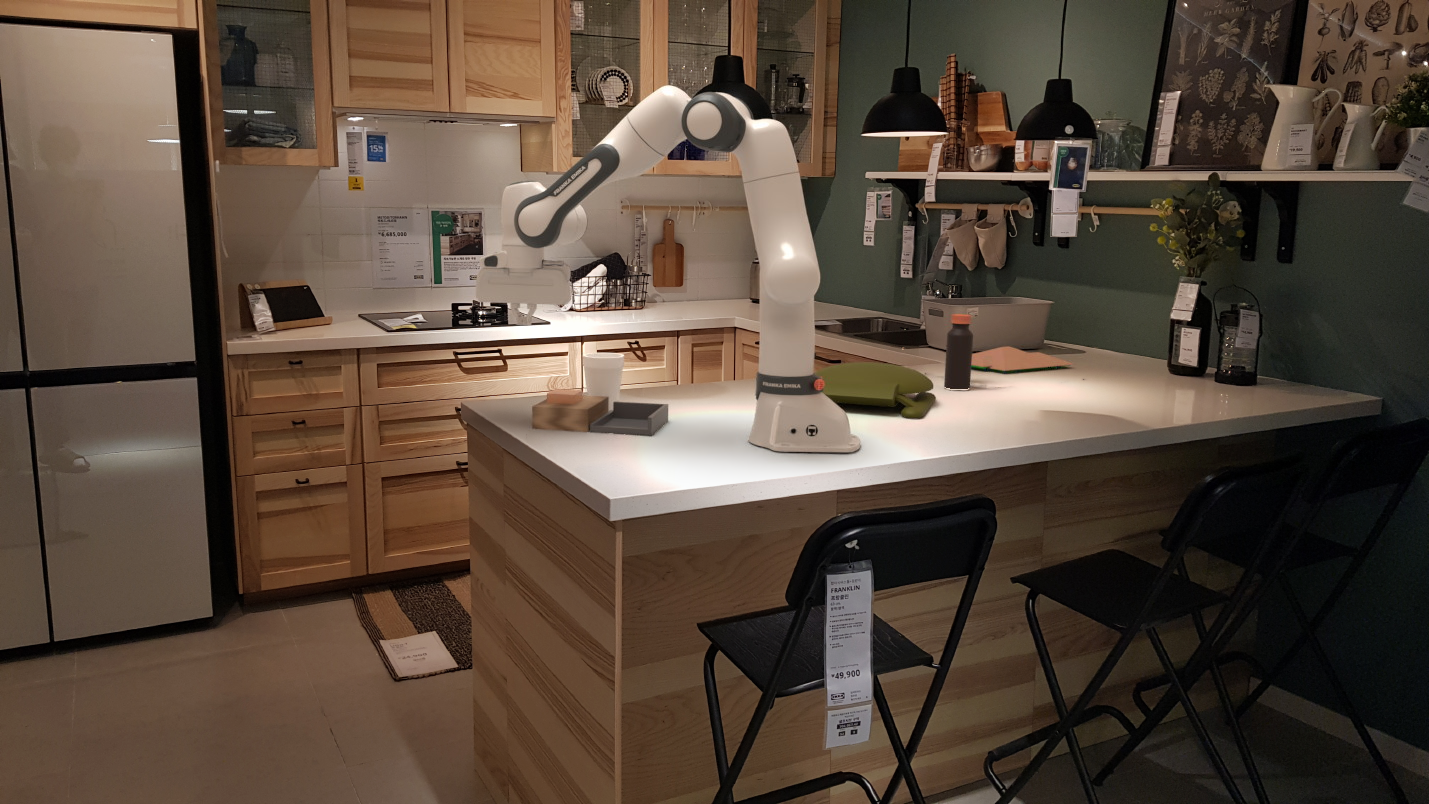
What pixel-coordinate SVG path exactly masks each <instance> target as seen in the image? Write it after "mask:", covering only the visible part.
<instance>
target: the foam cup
mask: <svg viewBox="0 0 1429 804" xmlns="http://www.w3.org/2000/svg"><path fill="white" fill-rule="evenodd" d="M582 366H583V370H584V378H585V386H586V393H587V394H586V396H605V397H609V411H610V410H613V402H614V401H616V402H620V401H619V400H620V391H621V386H622V385H621V383H622V378H623V377H622V376H623V372H624V371H623V369H624V367H625V354H623V353H616V352H590V353H588V352H587V353H584V354H582Z"/></svg>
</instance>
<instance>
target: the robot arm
mask: <svg viewBox="0 0 1429 804" xmlns="http://www.w3.org/2000/svg"><path fill="white" fill-rule="evenodd" d="M685 140H688V141H689V142H690V144H692V145H693V146H695V147H696V148H697V149H701V150H705V151H710V152H714V153H731V154H733V155H734V156H735V158H736V159H737V162H738V164H739V167H740V168H739V169H740V172H741V178H742V183H743V188H744V194H745V198H746V203H747V204H746V205H747V211H748V215H749V220H750V221H749V222H750V226H751V230H752V235H753V238H754V244H755V250H756V253H757V258H758V263H759V269H760V270H759V347H758V349H759V351H758V371H757V373H756V377H755V383H754V384H755V385H754V386H755V387H754V388H755V391H754V392H755V393H754V395H755V399H756V406H755V413H754V418H753V422H752V423H753V424H752V428H751V432H750V435H749V437H748V442H750V443H751V444H753V445H755V446H759V447H762V448H766V449H769V450H771V451H774V452H791V453H792V452H795V453H797V452H800V453H801V452H802V453H804V452H805V453H808V452H809V453H810V452H811V453H852V452H856V451H858V450H859V449H860V448H861V438H860V437H858V435H856V434H851V427H850V420H849V417H848V414H847V413H846V411H845V410H844V409H843V408H841V407H840V406H839V405H838V403H834V402H833V401H832V400H831V399H829V398H828V397H827V396H826V395H825V394H823V393H822V392H823V388H824V385H825V383H824V379H823V378H822V377H820V376H818V375H816V374H815V373H816V372H815V371H814V370H815V351H816V350H815V349H816V348H815V344H816V327H815V295H816V293H817V291H818V289H819V288H820V283H821V271H820V266H819V262H818V257H817V252H816V247H815V243H814V240H813V235H812V230H811V225H810V222H809V217H808V214H807V207H806V204H805V198H804V192H803V186H802V180H801V175H800V172H799V171H800V170H799V165H798V161H797V157H796V153H795V150H794V146H793V143H792V140H791V137H790V134H789V132H788V129H787V128H786V126H785V124H783V123H782V122H780V121H778V120H776V119H771V118H761V119H754V115H753V112H752V110H751V109H750V107H749V106H748V104H746V102H744V101H743V99H740V98H738V97H737V96H735V97H734V96H732V95H731V94H729V93H725V92H717V91H716V92H712V91H707V92H706V91H705V92H702V93H699V94H697V95H695V96H694V97H692V98H691V97H690V96H689V95H688V94H687V93H686V92H685V91H684V90H682V89H681V88H679V87H677V86H673V85H663V86H661V87H660V88H658V89H656V90H655V91H653V92H652V93H650V94H649V95H648V96H647V97H646V98H643V99H642V101H640V102H639V103H638V104H636V106H634V107H633V108H632V110H630V111H629V112H628V113H627V114H626V115H625V116H624V117H623V118H621V120H620V121H619V122H618V124H617V125H615V126H614V127H613V128H612V129H611V131H610V132H608V134H607V135H606V136H605V137H604V138H603V139H602V140H601V141H599V142H598V144H596V145H595V146H594V147H593V148H592V149H591V150H590V151H589V152H588V153H586V154H585V155H584V156H583V157H582V158H580V159H579V161H577V162H576V163H575V164H574V165H572V167H570V168H569V169H568V170H566V172H565V173H564V174H562V175H561V176H560V177H559V178H557V180H556V181H555V182H554V183H552V184H551V185H550V186H549V187H548V188H546V187H545V186H544V185H543V184H542V183H541V182H539V181H537V180H524V181H521V180H520V181H517V182H516V181H515V182H513V183H510V184H508V185H507V186H506V187H505V188H504V190H503V193H502V199H501V208H500V209H501V211H500V212H501V214H500V215H501V216H500V220H501V222H500V223H501V227H502V234H503V237H502V241H501V250H500V251H499V252H498V251H496V252H494V253H491V254H488V255H484V256H482V257H480V258H479V261H478V262H479V266H480V267H481V268H480V269H479V270H478V272H477V276H476V280H475V298H476V300H478V302H479V303H493V304H494V303H496V304H497V303H499V304H501V303H502V304H510V310H511V312H512V313H513V315H514V317H515V325H516V326H531V325H532V322H533V319H532V317H533V316H534V313H535V312H536V310H537V309H538V308H537V305H554V306H555V305H556V306H565V305H568V304H569V303H570V302H571V300H572V293H571V283H570V280H571V276H572V274H571V273H572V270H571V267H570V265H569V264H568V263H567V262H564V260H550V259H549V260H548V259H545V248H547V247H550V246H553V247H554V246H562V245H563V246H564V245H565V246H566V245H570V244H573V243H577V242H578V241H580V240H581V239H582V238H583V237H584V235H585V234H586V232H587V229H588V216H587V212H586V210H585V208H584V207H583V206H582V203H584V201H586V200H587V199H588V198H589V197H590V196H591V195H592V194H593V193H595V191H597V190H598V189H600V188H602V187H603V186H606V185H609V184H610V183H613V182H617V181H620V180H626V179H631V178H636V177H639V176H642V175H643V174H645V173H648V171H650V170H651V169H653V168H655V167H656V166H657V165H658V164H659V163H661V161H663V160H664V159H665V158H666V157H667V156H668V155H669V154H670V153H671V151H673V150H674V149H675V148H676V147H677V146H678V145H679V144H680V143H682V142H683V141H685ZM521 304H526V309H527V310H528V312H527V314H526V315H522V314H521V312H520V310H519V309H520V308H521Z"/></svg>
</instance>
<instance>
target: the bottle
mask: <svg viewBox="0 0 1429 804" xmlns="http://www.w3.org/2000/svg"><path fill="white" fill-rule="evenodd" d="M971 319H972V316H971V314H963V313H955V314H953V313H952V314H951V325H952V328H951V329H949V331H948V332H947V333H946V351H945V365H944V366H945V367H944V383H943V384H944V385H943V387H946V388H950V389H968V388H970V389H971V377H972V375H971V374H972V369H971V363H972V354H973V344H974V333H973V332H972V331H971V330H970V328H969V327H970V326H971Z"/></svg>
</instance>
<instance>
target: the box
mask: <svg viewBox="0 0 1429 804" xmlns="http://www.w3.org/2000/svg"><path fill="white" fill-rule="evenodd" d="M667 423H669V403H652V402H649V403H648V402H635V401H618V402H616V401H614V402H613V410H610V411H609V412H607V413H606V414H604V415H603V416H601V417H600V418H598V419H597V420H595V421H594V422H592V423H591V424H590V431H589V432H590V433H594V434H595V433H597V434H609V433H613V434H612V435H624V434H625V435H628V436H642V437H653V436H654V435H655V434H656V433H657V432H659V430H661V428H662V427H664V426H665V425H666V424H667ZM663 425H664V426H663ZM652 435H653V436H652Z"/></svg>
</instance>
